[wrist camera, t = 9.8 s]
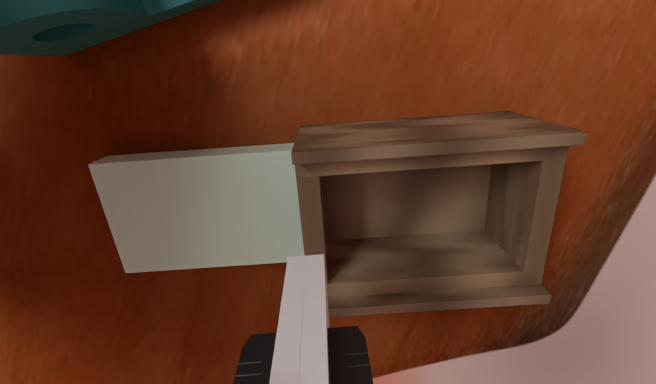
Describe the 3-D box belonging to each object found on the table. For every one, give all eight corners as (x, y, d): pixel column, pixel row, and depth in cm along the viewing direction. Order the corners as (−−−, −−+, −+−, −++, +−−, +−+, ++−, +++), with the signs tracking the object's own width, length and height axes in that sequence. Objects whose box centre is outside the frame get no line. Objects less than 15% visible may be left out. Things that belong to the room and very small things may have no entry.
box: (312, 254, 26) (309, 318, 20) (300, 125, 22) (291, 152, 16) (492, 242, 26) (549, 303, 19) (509, 111, 22) (586, 132, 16)
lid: (142, 254, 26) (125, 273, 24) (110, 154, 23) (88, 164, 21) (306, 243, 26) (304, 261, 24) (295, 141, 23) (293, 150, 21)
